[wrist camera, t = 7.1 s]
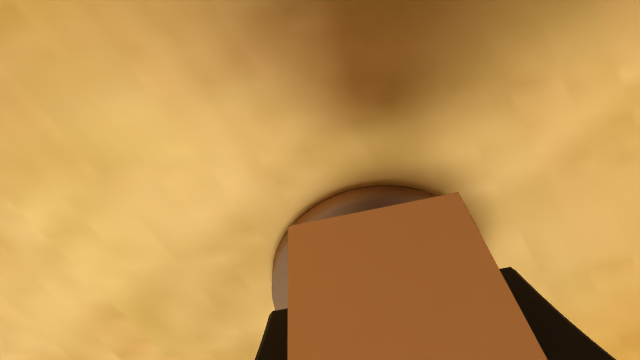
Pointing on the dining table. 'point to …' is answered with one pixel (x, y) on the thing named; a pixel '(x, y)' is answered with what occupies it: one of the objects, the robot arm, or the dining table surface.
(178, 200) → the dining table surface
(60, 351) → the dining table surface
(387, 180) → the dining table surface
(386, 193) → the spool post
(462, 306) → the copper block
